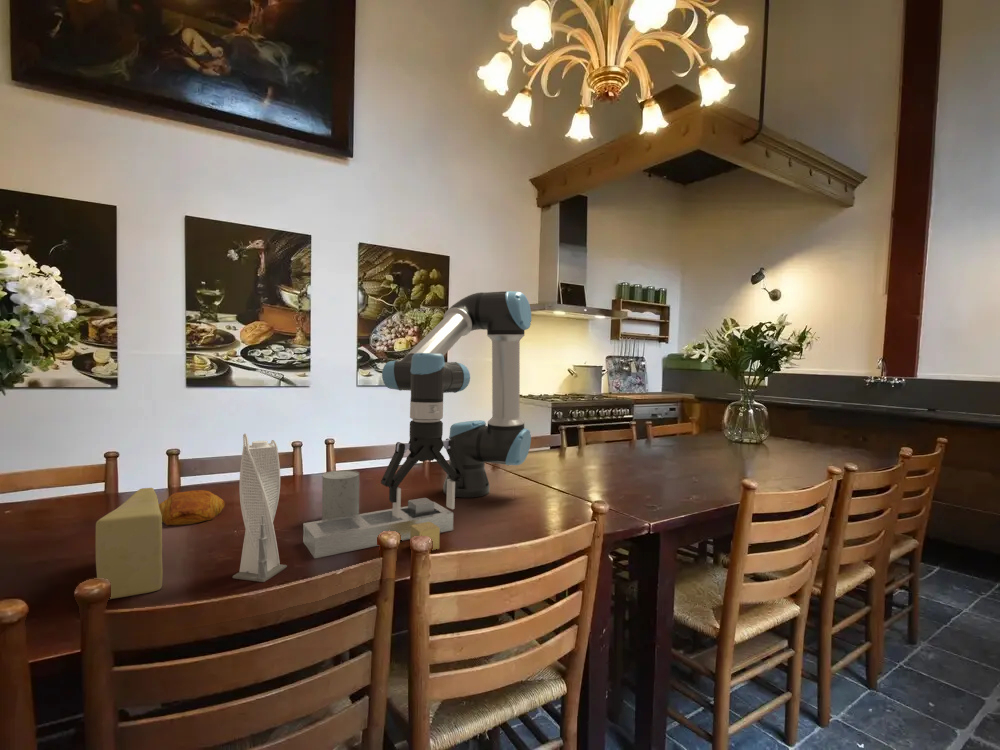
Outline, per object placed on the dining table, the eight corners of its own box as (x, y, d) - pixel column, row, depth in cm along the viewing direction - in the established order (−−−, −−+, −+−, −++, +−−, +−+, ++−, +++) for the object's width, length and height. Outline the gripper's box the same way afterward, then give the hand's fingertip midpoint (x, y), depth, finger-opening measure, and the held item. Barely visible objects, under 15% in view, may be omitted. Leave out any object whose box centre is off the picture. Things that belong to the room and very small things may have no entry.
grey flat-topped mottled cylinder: (324, 528, 125) (324, 480, 125) (319, 516, 134) (319, 472, 133) (362, 522, 130) (362, 476, 129) (355, 512, 138) (355, 469, 138)
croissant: (164, 520, 135) (159, 492, 135) (228, 507, 141) (223, 480, 140) (148, 537, 122) (143, 505, 121) (219, 522, 127) (214, 491, 127)
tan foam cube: (410, 546, 115) (410, 525, 115) (429, 542, 117) (430, 521, 117) (419, 553, 111) (419, 531, 110) (439, 549, 113) (439, 527, 113)
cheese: (121, 556, 106) (121, 487, 105) (175, 549, 110) (175, 483, 110) (94, 603, 86) (93, 518, 86) (161, 591, 91) (161, 511, 90)
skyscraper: (226, 577, 97) (226, 436, 96) (254, 560, 105) (254, 430, 104) (264, 582, 95) (264, 438, 94) (290, 564, 103) (290, 432, 102)
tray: (303, 542, 116) (303, 512, 115) (433, 518, 135) (434, 492, 134) (314, 558, 107) (314, 526, 106) (453, 530, 126) (453, 503, 125)
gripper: (379, 424, 103) (377, 525, 103) (481, 419, 117) (478, 508, 117) (367, 420, 109) (365, 515, 109) (465, 416, 123) (463, 500, 123)
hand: (424, 512), depth 113 cm, fingers open, 13 cm apart
